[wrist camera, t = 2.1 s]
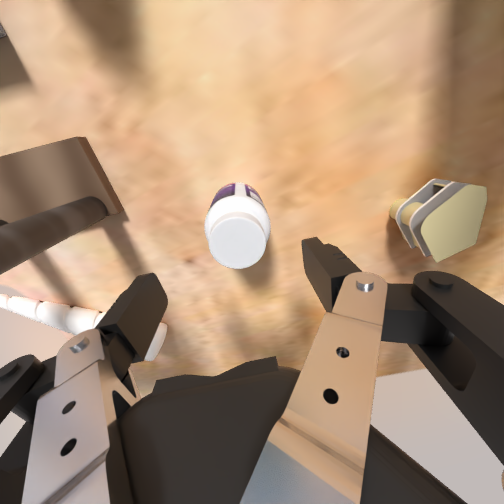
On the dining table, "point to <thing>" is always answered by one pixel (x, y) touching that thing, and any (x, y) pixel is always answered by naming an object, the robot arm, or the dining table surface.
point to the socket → (2, 32)
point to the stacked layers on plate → (441, 217)
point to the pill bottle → (237, 226)
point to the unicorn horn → (70, 318)
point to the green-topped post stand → (50, 197)
